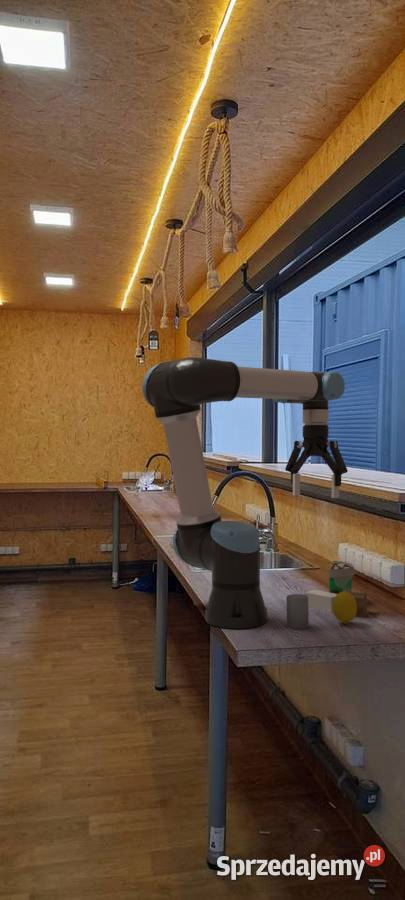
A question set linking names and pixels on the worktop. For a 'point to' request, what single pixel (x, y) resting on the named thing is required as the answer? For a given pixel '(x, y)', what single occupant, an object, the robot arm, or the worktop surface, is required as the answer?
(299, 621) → the slate cylinder
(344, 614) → the lemon
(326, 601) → the off-white brick
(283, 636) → the worktop surface
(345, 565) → the food container
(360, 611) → the walnut cube
